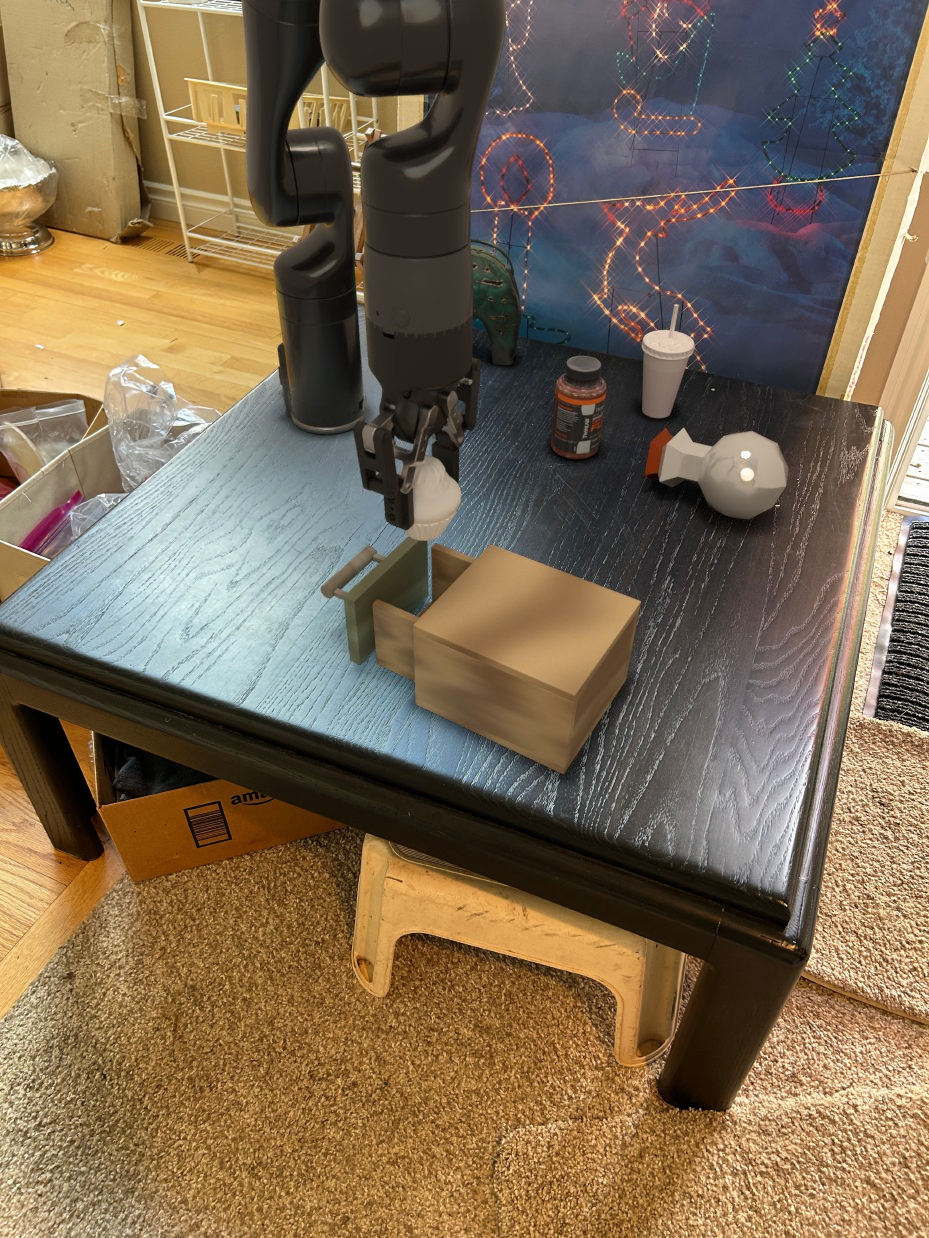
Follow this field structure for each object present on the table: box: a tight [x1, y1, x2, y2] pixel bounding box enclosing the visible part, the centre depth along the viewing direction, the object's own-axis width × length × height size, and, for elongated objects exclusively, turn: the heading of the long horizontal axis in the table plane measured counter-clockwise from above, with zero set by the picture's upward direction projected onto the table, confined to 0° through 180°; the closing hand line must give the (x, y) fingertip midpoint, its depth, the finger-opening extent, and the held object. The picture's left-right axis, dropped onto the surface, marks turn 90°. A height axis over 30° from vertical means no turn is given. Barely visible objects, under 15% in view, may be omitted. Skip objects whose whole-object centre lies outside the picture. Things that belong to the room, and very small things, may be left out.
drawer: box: [320, 535, 477, 683], centre depth 81 cm, size 18×11×8 cm, turn 59°
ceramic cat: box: [470, 238, 522, 366], centre depth 122 cm, size 20×6×20 cm, turn 81°
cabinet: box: [413, 543, 642, 775], centre depth 77 cm, size 15×13×10 cm
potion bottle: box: [644, 427, 790, 520], centre depth 100 cm, size 9×10×15 cm
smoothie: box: [641, 303, 695, 419], centre depth 113 cm, size 6×6×14 cm
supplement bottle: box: [550, 355, 607, 460], centre depth 107 cm, size 6×6×11 cm
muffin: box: [398, 454, 462, 542], centre depth 73 cm, size 6×6×7 cm
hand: (423, 503), depth 74 cm, fingers closed on muffin, 6 cm apart
